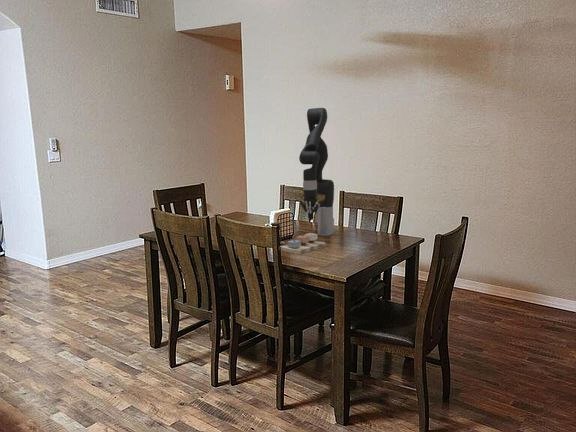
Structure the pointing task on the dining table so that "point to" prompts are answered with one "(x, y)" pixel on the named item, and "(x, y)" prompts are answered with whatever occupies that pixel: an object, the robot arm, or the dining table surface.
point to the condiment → (279, 229)
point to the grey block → (294, 243)
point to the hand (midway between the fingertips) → (310, 219)
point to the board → (304, 247)
